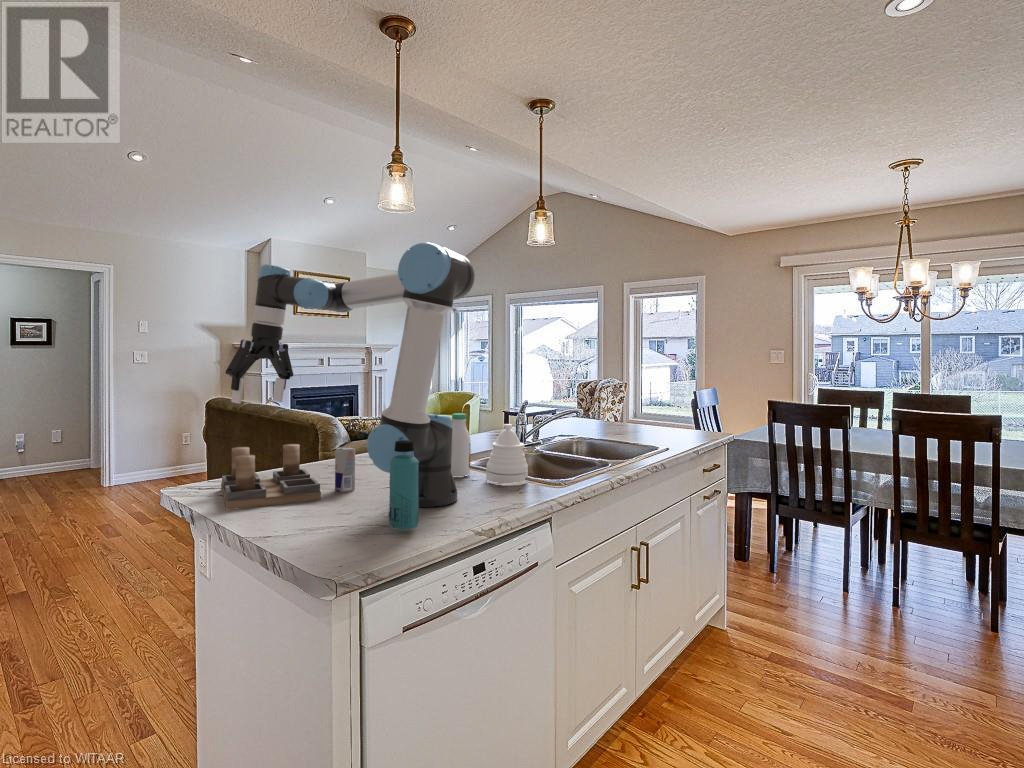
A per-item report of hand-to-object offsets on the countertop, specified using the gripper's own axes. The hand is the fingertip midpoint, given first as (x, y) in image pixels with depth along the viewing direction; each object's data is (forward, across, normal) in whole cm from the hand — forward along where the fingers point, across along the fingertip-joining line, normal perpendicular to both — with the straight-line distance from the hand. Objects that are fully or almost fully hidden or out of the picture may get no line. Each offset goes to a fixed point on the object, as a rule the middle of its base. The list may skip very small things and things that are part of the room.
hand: (257, 402), depth 148 cm
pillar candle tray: (+24, -1, +8) cm, 25 cm away
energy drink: (+22, -14, +22) cm, 34 cm away
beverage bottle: (+18, +8, +57) cm, 60 cm away
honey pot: (+16, -47, +57) cm, 75 cm away
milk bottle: (+18, -47, +40) cm, 64 cm away
